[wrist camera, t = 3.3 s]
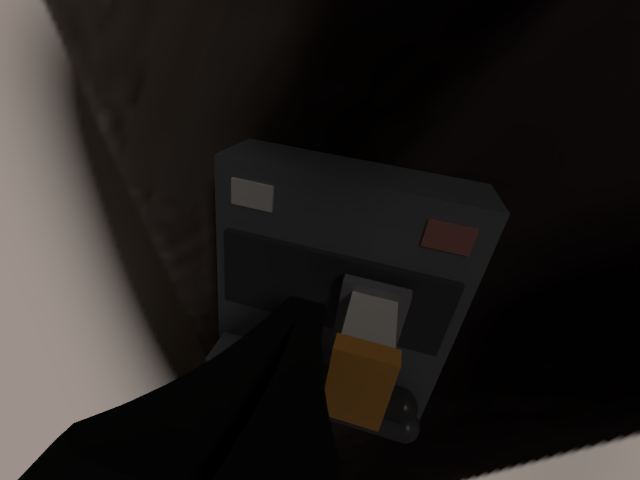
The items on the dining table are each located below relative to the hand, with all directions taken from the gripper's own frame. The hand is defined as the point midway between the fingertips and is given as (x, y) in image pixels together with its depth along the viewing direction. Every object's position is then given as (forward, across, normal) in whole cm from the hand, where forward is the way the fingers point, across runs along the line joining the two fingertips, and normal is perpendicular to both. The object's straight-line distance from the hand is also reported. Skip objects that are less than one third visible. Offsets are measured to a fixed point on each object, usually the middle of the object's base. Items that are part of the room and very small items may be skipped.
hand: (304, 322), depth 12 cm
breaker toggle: (+2, -2, 0) cm, 3 cm away
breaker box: (+5, 0, +1) cm, 5 cm away
